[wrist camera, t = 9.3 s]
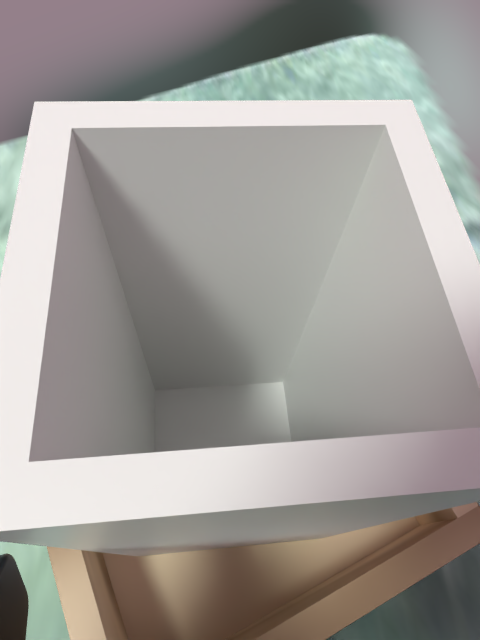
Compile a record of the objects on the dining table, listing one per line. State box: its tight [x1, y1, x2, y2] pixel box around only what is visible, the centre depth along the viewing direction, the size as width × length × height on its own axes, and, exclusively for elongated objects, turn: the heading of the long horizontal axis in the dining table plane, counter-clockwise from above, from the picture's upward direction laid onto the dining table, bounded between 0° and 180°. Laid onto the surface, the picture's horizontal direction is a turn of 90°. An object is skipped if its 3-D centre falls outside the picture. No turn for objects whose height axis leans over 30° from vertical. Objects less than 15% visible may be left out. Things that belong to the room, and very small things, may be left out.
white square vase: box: [0, 100, 480, 556], centre depth 11 cm, size 6×6×12 cm
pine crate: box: [47, 502, 480, 640], centre depth 15 cm, size 12×12×4 cm
